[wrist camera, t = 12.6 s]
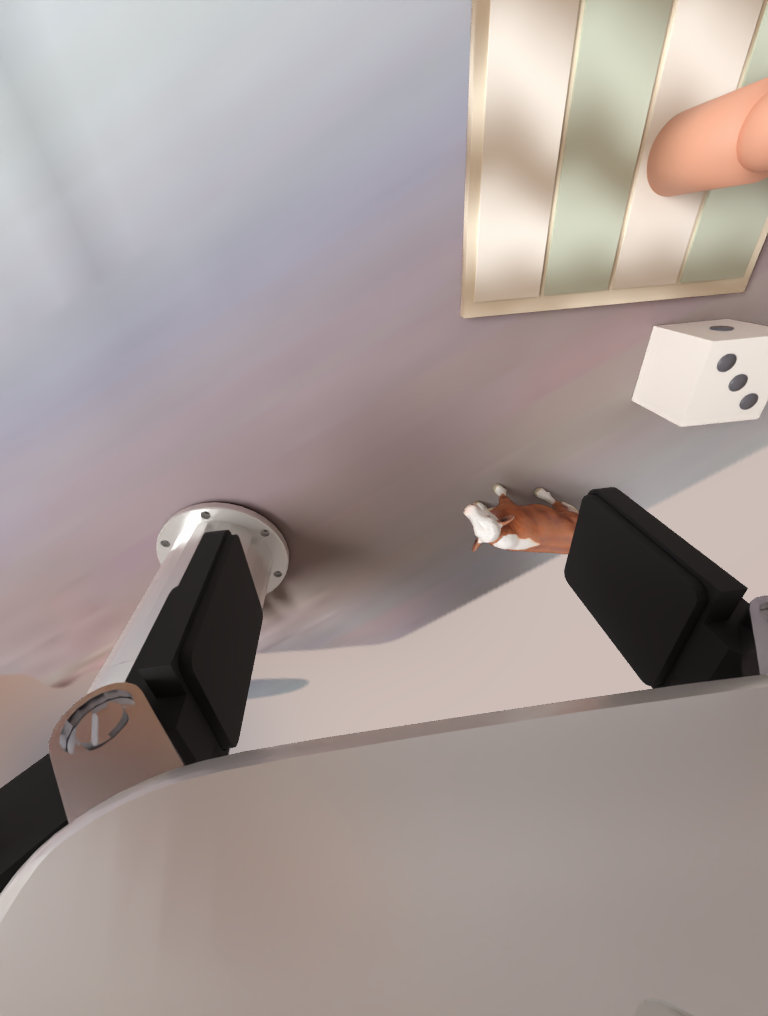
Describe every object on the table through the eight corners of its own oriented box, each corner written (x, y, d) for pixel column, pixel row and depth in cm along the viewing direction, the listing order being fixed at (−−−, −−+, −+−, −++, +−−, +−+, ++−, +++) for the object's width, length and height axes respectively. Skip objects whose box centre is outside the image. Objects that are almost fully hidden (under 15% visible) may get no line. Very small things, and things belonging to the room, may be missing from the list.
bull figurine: (454, 465, 36) (478, 515, 29) (576, 492, 39) (624, 543, 32) (438, 503, 38) (457, 557, 32) (554, 525, 41) (595, 580, 34)
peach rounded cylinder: (698, 193, 25) (831, 173, 18) (638, 199, 25) (749, 180, 18) (725, 106, 22) (889, 45, 16) (659, 111, 22) (794, 52, 16)
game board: (732, 290, 29) (746, 292, 28) (460, 316, 29) (464, 318, 28) (866, -56, 20) (893, -72, 19) (472, -28, 20) (479, -43, 19)
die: (699, 393, 34) (760, 419, 29) (631, 400, 34) (681, 427, 29) (729, 317, 30) (805, 331, 25) (654, 324, 30) (715, 340, 25)
